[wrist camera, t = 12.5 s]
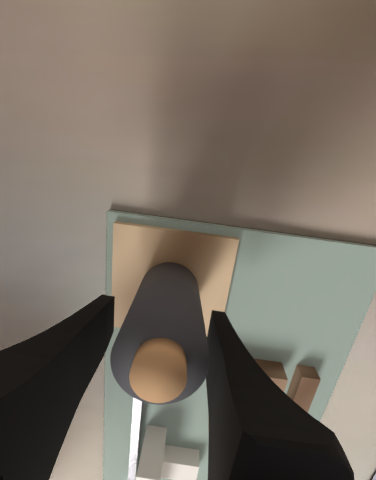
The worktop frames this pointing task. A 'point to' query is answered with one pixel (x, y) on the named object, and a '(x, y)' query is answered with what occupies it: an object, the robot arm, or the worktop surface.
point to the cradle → (293, 381)
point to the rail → (135, 438)
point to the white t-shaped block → (165, 458)
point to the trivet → (176, 251)
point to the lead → (162, 338)
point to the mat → (255, 325)
